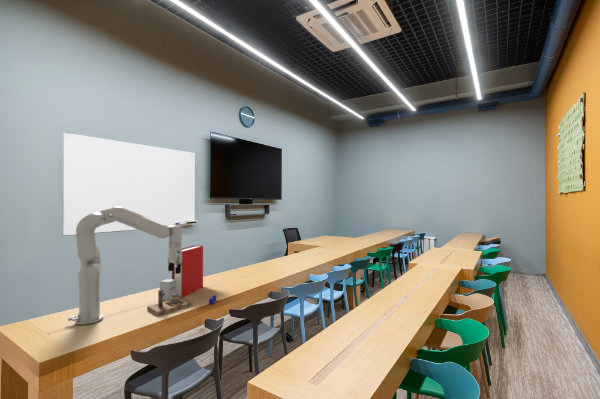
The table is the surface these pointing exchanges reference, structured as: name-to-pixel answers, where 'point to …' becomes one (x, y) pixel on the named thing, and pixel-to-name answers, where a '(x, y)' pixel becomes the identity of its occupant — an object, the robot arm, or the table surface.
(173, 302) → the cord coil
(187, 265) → the book
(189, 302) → the brown base with post
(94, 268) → the robot arm
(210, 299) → the cable holder
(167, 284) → the supplement box
